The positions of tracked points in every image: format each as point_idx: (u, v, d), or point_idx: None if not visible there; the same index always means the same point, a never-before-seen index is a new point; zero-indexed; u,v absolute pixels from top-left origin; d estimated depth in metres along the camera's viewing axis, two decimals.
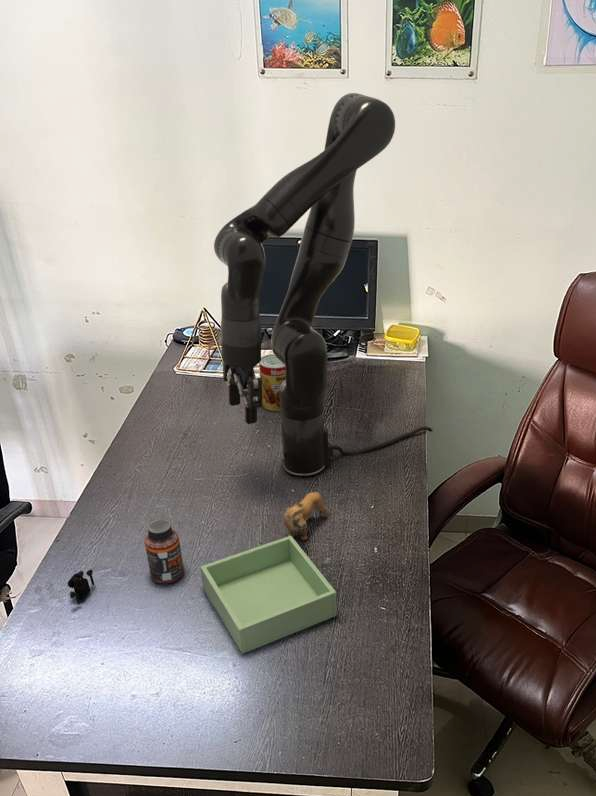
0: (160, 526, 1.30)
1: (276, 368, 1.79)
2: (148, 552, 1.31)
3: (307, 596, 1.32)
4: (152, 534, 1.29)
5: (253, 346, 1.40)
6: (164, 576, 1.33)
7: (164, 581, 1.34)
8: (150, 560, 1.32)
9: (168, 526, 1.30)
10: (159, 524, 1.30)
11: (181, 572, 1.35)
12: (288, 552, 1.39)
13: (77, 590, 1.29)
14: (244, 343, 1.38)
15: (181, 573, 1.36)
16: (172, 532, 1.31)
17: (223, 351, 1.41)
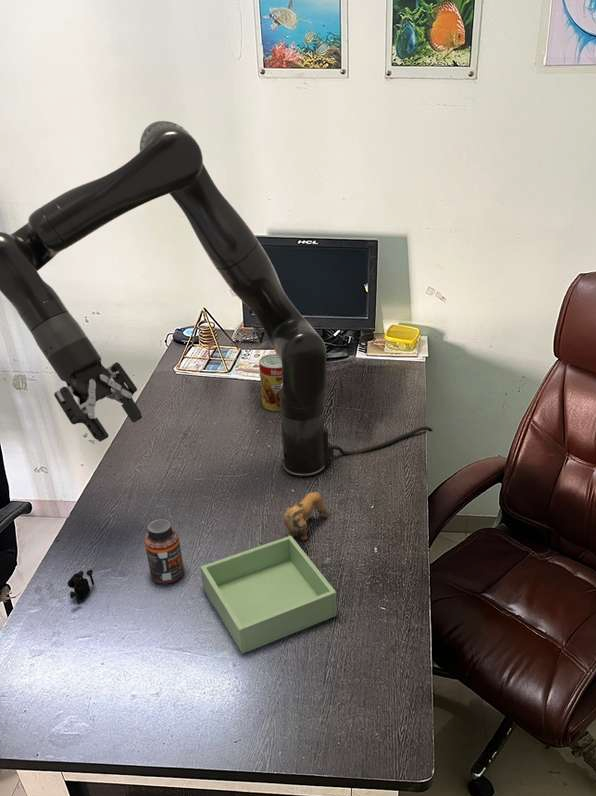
0: (160, 526, 1.30)
1: (277, 368, 1.79)
2: (148, 552, 1.31)
3: (307, 596, 1.32)
4: (152, 534, 1.29)
5: (55, 353, 1.21)
6: (164, 576, 1.33)
7: (164, 581, 1.34)
8: (150, 560, 1.32)
9: (168, 526, 1.30)
10: (159, 524, 1.30)
11: (181, 572, 1.35)
12: (288, 552, 1.39)
13: (77, 590, 1.29)
14: (45, 353, 1.22)
15: (181, 573, 1.36)
16: (172, 532, 1.31)
17: None
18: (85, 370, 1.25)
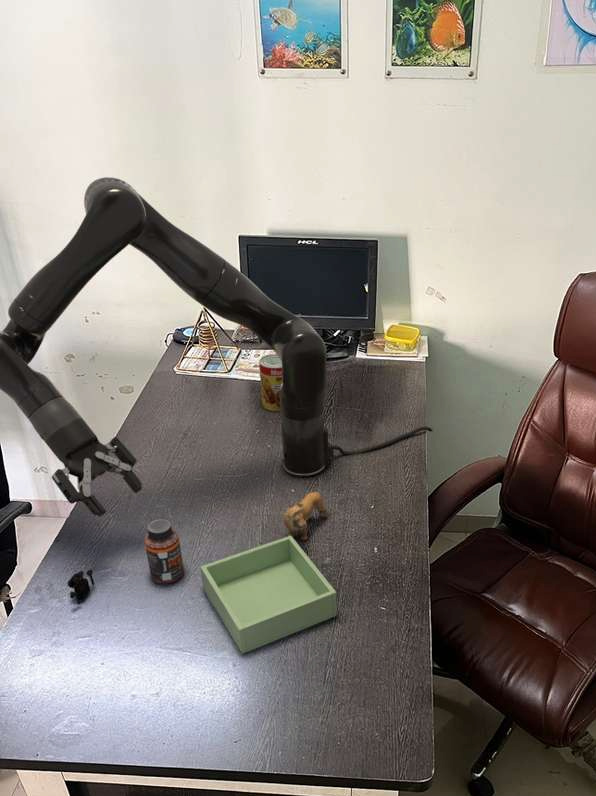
0: (160, 526, 1.30)
1: (277, 368, 1.79)
2: (148, 552, 1.31)
3: (307, 596, 1.32)
4: (152, 534, 1.29)
5: (49, 438, 1.27)
6: (164, 576, 1.33)
7: (164, 581, 1.34)
8: (150, 560, 1.32)
9: (168, 526, 1.30)
10: (159, 524, 1.30)
11: (181, 572, 1.35)
12: (288, 552, 1.39)
13: (77, 590, 1.29)
14: (42, 438, 1.28)
15: (181, 573, 1.36)
16: (172, 532, 1.31)
17: None
18: (81, 450, 1.30)
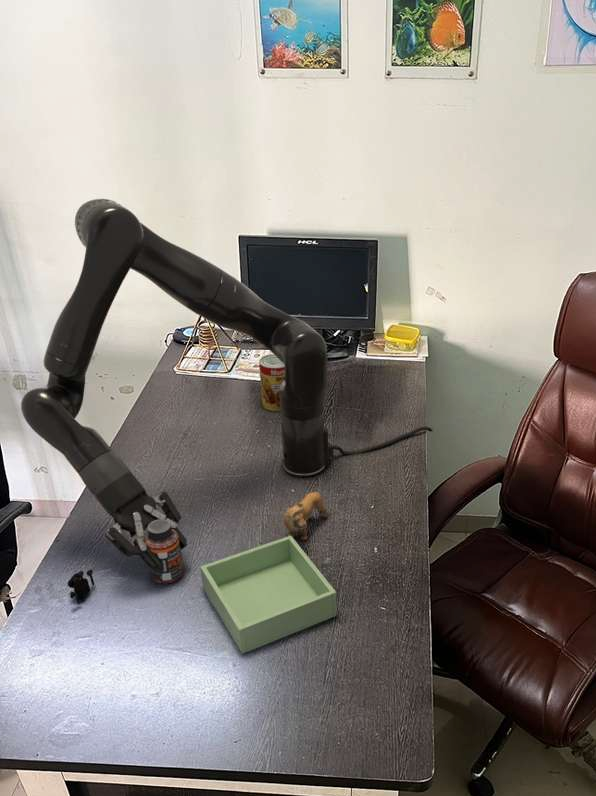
0: (160, 526, 1.30)
1: (276, 368, 1.79)
2: None
3: (307, 596, 1.32)
4: (152, 535, 1.29)
5: (99, 492, 1.28)
6: (164, 576, 1.33)
7: (164, 581, 1.34)
8: None
9: (168, 527, 1.30)
10: (159, 524, 1.30)
11: (181, 572, 1.35)
12: (288, 552, 1.39)
13: (77, 590, 1.29)
14: (92, 492, 1.29)
15: (181, 573, 1.36)
16: (172, 532, 1.31)
17: None
18: (130, 503, 1.30)
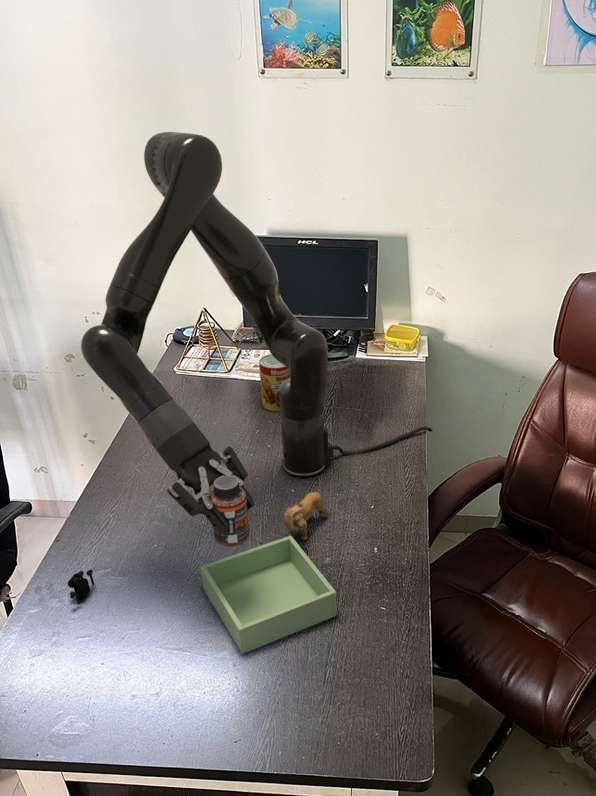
0: (227, 482, 1.18)
1: (277, 368, 1.79)
2: None
3: (307, 596, 1.32)
4: (219, 491, 1.17)
5: (162, 444, 1.16)
6: (230, 538, 1.21)
7: (229, 544, 1.22)
8: None
9: (236, 483, 1.18)
10: (225, 481, 1.19)
11: (247, 534, 1.24)
12: (288, 552, 1.39)
13: (77, 590, 1.29)
14: (153, 445, 1.17)
15: (247, 536, 1.24)
16: (240, 490, 1.20)
17: None
18: (194, 457, 1.19)
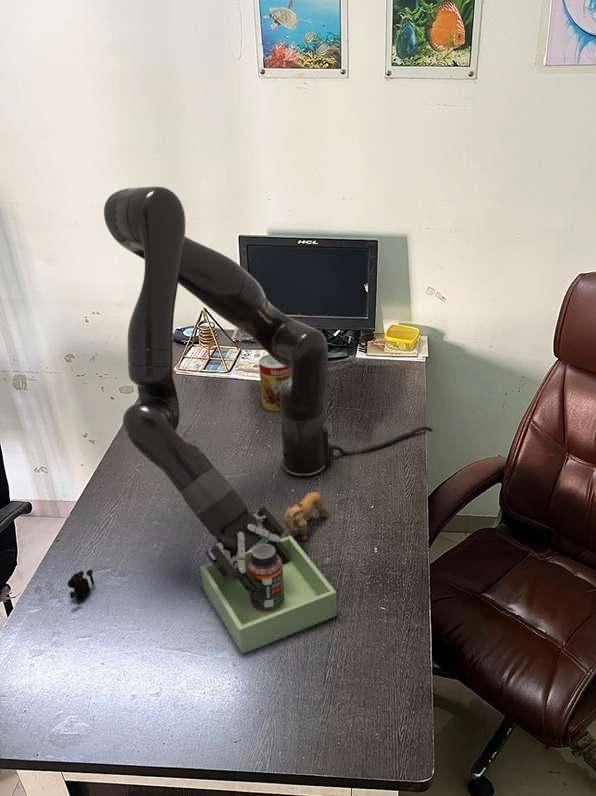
0: (265, 551, 1.24)
1: (276, 368, 1.79)
2: None
3: (307, 596, 1.32)
4: (257, 560, 1.23)
5: (203, 512, 1.21)
6: (267, 603, 1.27)
7: (266, 608, 1.28)
8: None
9: (273, 552, 1.24)
10: (263, 549, 1.24)
11: (282, 598, 1.29)
12: None
13: (77, 590, 1.29)
14: (194, 511, 1.23)
15: (282, 599, 1.30)
16: (276, 557, 1.26)
17: None
18: (233, 523, 1.24)
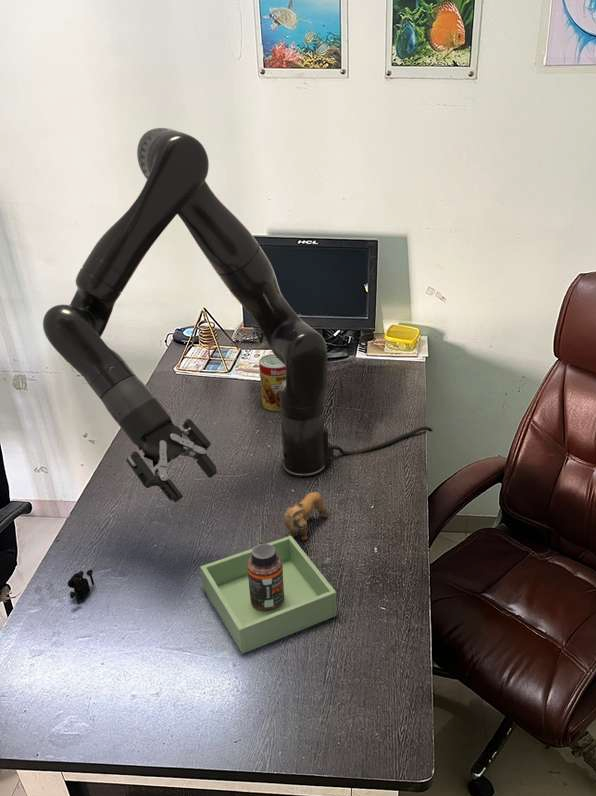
0: (264, 551, 1.24)
1: (277, 368, 1.79)
2: (251, 578, 1.25)
3: (307, 596, 1.32)
4: (257, 560, 1.23)
5: (124, 418, 1.21)
6: (267, 603, 1.27)
7: (266, 608, 1.28)
8: (253, 587, 1.26)
9: (273, 552, 1.24)
10: (263, 549, 1.24)
11: (282, 598, 1.29)
12: (288, 552, 1.39)
13: (77, 590, 1.29)
14: (115, 419, 1.22)
15: (282, 599, 1.30)
16: (276, 557, 1.26)
17: None
18: (155, 431, 1.23)
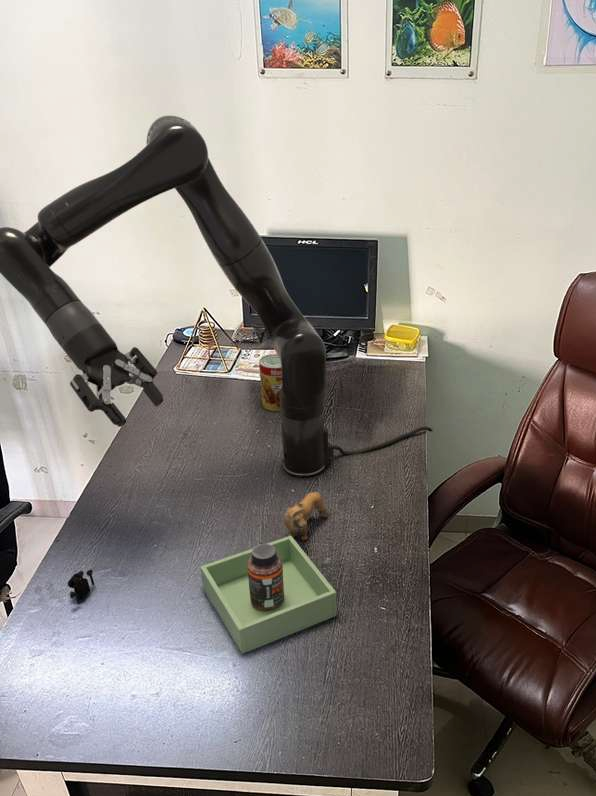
0: (265, 551, 1.24)
1: (277, 368, 1.79)
2: (251, 578, 1.25)
3: (307, 596, 1.32)
4: (257, 560, 1.23)
5: (67, 342, 1.22)
6: (267, 603, 1.27)
7: (266, 608, 1.28)
8: (253, 587, 1.26)
9: (273, 552, 1.24)
10: (263, 549, 1.24)
11: (282, 598, 1.29)
12: (288, 552, 1.39)
13: (77, 590, 1.29)
14: (60, 343, 1.23)
15: (282, 599, 1.30)
16: (276, 557, 1.26)
17: None
18: (100, 357, 1.24)
